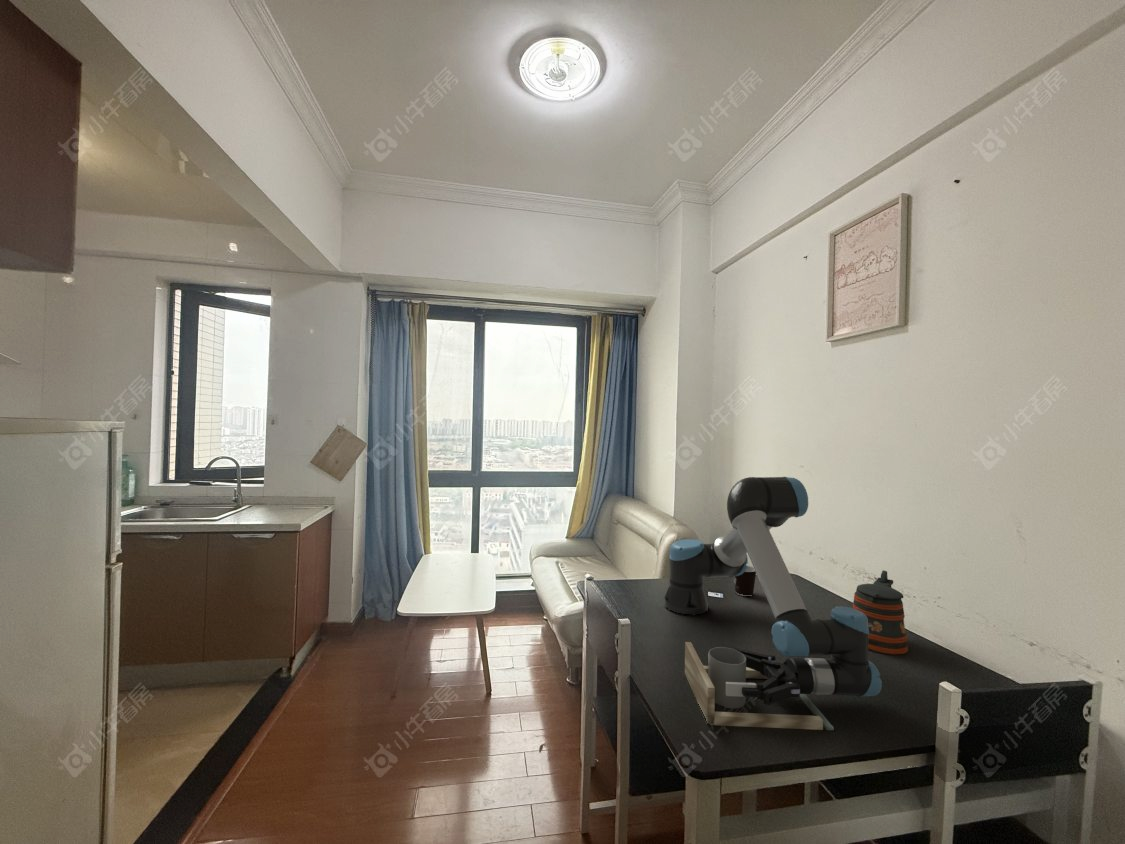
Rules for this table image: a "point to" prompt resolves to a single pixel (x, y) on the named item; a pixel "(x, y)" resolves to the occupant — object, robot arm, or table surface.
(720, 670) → the cup
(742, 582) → the coffee mug
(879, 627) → the beer stein
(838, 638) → the robot arm
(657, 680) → the table surface
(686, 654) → the bay
